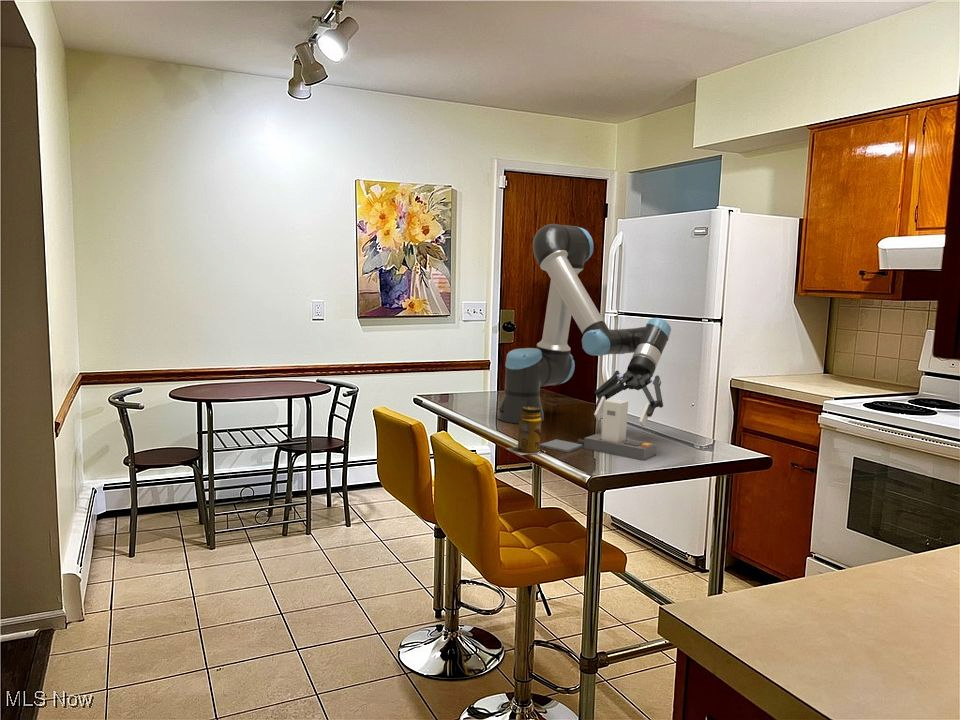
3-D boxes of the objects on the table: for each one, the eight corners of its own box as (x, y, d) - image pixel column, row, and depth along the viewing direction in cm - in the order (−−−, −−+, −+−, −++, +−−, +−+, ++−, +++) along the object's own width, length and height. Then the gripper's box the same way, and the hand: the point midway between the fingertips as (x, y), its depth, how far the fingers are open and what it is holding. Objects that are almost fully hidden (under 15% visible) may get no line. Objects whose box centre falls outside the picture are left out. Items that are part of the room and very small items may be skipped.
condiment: (546, 452, 195) (548, 409, 194) (521, 455, 191) (523, 411, 189) (529, 446, 201) (532, 404, 200) (505, 449, 197) (507, 406, 195)
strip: (571, 445, 204) (572, 433, 204) (584, 441, 210) (585, 429, 210) (643, 460, 191) (644, 447, 191) (655, 454, 198) (656, 442, 197)
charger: (609, 440, 204) (611, 398, 203) (625, 443, 201) (628, 401, 200) (600, 443, 200) (603, 401, 198) (617, 446, 197) (620, 403, 196)
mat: (555, 441, 209) (555, 439, 209) (583, 446, 203) (583, 444, 203) (539, 446, 202) (539, 444, 201) (567, 452, 196) (567, 450, 196)
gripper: (687, 375, 205) (664, 435, 195) (608, 366, 219) (582, 421, 209) (682, 358, 200) (658, 419, 190) (601, 350, 214) (575, 406, 204)
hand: (618, 420), depth 199 cm, fingers open, 13 cm apart
